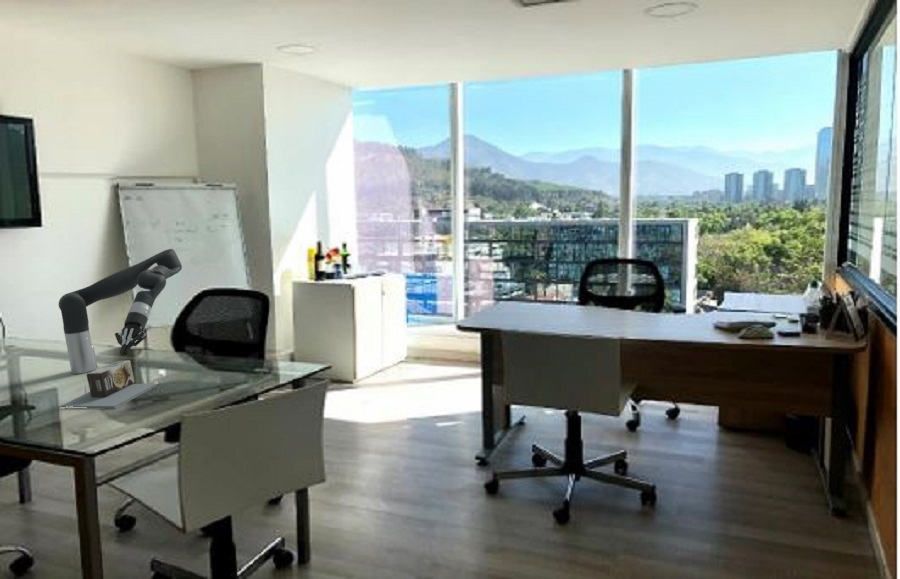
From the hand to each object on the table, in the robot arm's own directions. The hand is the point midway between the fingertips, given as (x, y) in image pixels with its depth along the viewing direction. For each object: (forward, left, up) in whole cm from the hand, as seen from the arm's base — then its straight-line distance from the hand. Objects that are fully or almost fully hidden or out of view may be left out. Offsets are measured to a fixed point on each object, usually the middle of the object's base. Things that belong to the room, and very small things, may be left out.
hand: (122, 355), depth 258 cm
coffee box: (-3, -2, -7) cm, 8 cm away
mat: (+10, 0, -13) cm, 17 cm away
